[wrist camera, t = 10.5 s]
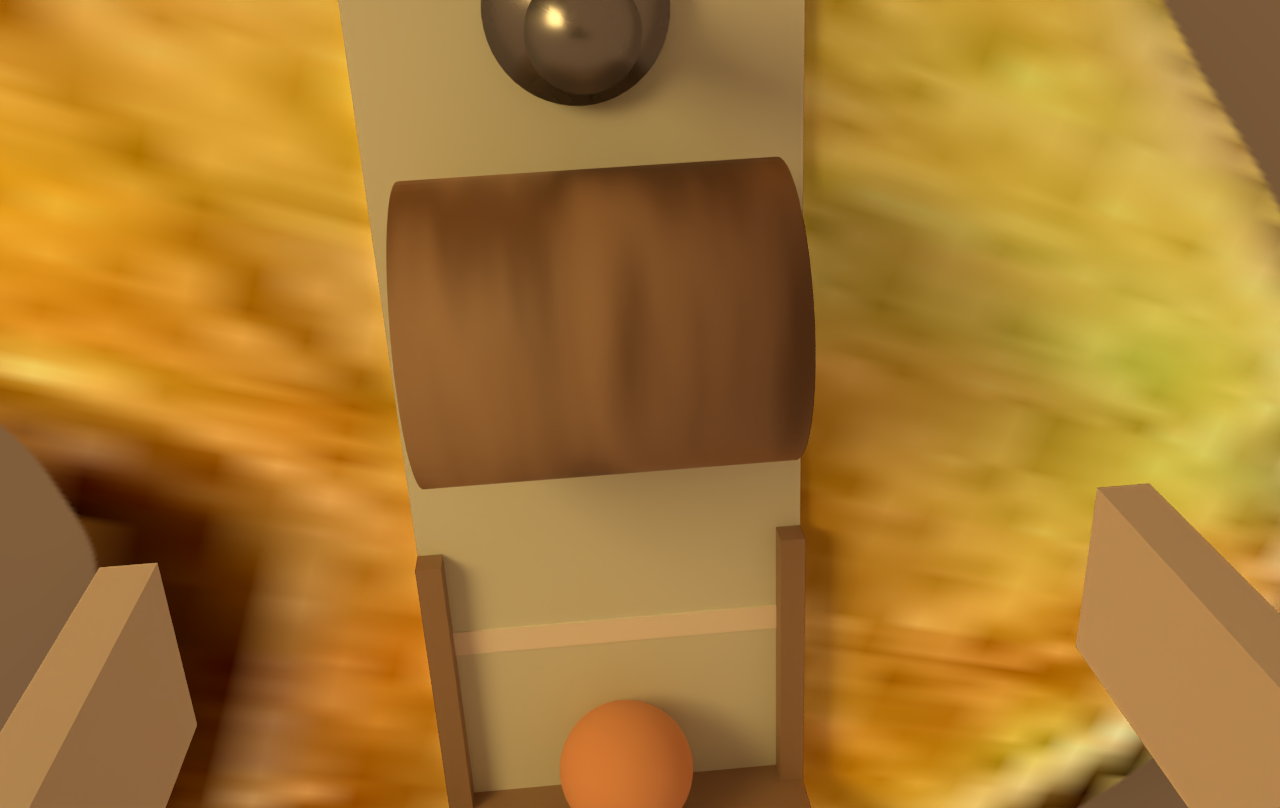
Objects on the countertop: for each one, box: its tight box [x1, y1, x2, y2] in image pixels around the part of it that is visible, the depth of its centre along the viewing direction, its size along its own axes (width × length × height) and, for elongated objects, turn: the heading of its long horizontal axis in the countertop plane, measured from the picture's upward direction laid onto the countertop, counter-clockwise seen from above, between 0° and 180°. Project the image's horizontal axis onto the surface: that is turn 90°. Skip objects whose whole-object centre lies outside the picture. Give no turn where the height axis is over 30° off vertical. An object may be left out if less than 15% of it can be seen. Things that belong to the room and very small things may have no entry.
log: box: [386, 157, 815, 489], centre depth 36 cm, size 11×9×9 cm
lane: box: [338, 0, 811, 808], centre depth 40 cm, size 14×35×5 cm, turn 3°
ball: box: [560, 700, 693, 808], centre depth 45 cm, size 5×5×5 cm
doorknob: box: [481, 0, 670, 106], centre depth 33 cm, size 6×6×6 cm
